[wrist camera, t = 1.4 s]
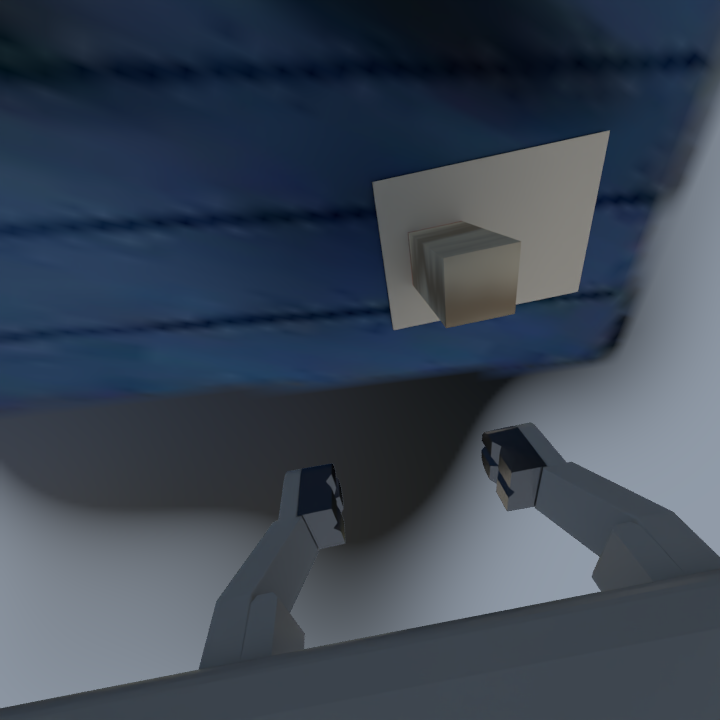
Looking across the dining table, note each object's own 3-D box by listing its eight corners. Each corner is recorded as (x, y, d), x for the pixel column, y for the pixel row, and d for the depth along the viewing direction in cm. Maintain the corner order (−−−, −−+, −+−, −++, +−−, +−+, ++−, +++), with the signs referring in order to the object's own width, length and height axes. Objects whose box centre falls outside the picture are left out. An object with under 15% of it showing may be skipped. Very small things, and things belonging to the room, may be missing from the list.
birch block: (407, 232, 28) (443, 258, 19) (461, 220, 28) (521, 241, 19) (412, 285, 31) (446, 328, 22) (461, 274, 31) (514, 313, 22)
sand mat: (372, 182, 26) (372, 182, 26) (605, 131, 26) (609, 130, 25) (392, 328, 33) (393, 330, 33) (574, 289, 33) (577, 291, 33)
